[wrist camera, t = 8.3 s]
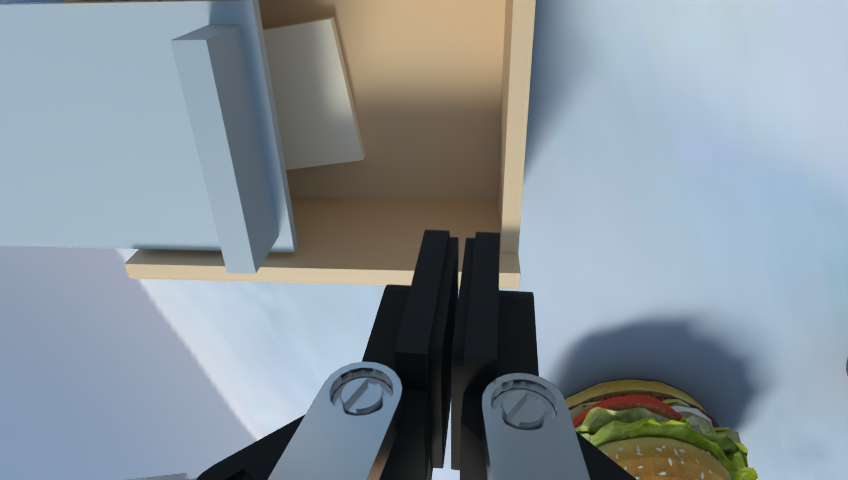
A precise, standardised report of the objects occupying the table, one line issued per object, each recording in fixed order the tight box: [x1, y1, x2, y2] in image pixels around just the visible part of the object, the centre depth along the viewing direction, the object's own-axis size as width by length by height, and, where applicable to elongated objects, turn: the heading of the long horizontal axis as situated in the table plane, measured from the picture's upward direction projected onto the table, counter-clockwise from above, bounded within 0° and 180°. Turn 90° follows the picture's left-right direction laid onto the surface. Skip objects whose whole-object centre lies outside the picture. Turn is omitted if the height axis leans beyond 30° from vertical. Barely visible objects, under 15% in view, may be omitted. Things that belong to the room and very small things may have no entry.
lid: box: [0, 0, 298, 274], centre depth 22 cm, size 11×18×4 cm, turn 91°
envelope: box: [263, 17, 365, 170], centre depth 28 cm, size 7×4×1 cm, turn 9°
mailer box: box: [62, 0, 536, 289], centre depth 25 cm, size 13×18×8 cm
